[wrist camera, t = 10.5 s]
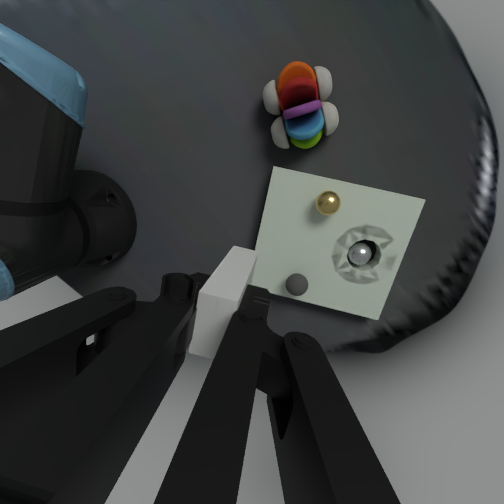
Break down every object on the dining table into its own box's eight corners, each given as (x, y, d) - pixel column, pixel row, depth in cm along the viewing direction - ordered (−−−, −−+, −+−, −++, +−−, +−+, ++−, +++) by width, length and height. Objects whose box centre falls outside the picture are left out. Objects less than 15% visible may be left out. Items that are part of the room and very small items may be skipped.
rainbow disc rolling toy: (324, 61, 36) (332, 36, 29) (339, 140, 38) (349, 134, 31) (260, 83, 38) (253, 64, 31) (277, 157, 40) (274, 155, 33)
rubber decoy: (283, 287, 43) (282, 296, 39) (288, 267, 42) (288, 275, 38) (304, 292, 42) (305, 302, 39) (310, 273, 41) (311, 281, 38)
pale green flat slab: (249, 280, 46) (246, 286, 43) (274, 166, 40) (273, 166, 38) (373, 312, 44) (377, 320, 42) (417, 197, 39) (425, 199, 36)
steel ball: (340, 260, 41) (361, 269, 39) (347, 239, 40) (368, 247, 38) (351, 258, 43) (370, 267, 41) (357, 238, 42) (378, 246, 40)
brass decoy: (311, 210, 39) (313, 214, 36) (318, 187, 38) (320, 188, 35) (334, 216, 39) (338, 220, 36) (341, 192, 38) (346, 194, 35)
